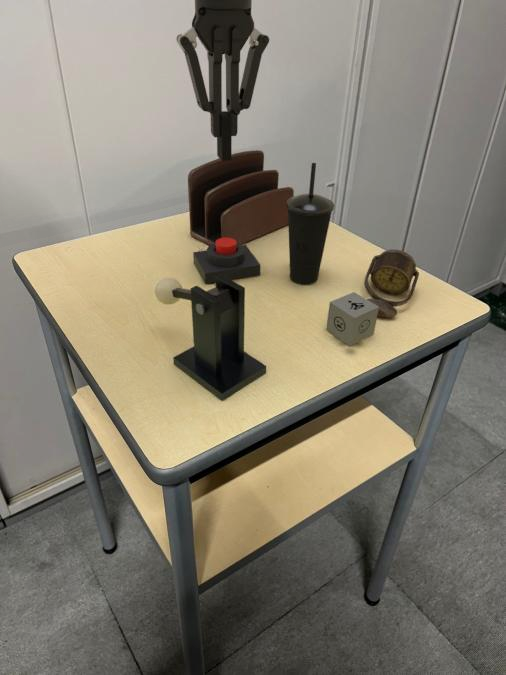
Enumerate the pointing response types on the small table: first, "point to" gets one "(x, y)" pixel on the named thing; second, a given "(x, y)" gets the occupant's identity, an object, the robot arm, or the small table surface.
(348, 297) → the dice cube
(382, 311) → the brown antique clock
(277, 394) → the small table surface
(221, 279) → the bracket
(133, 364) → the small table surface
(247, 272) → the button box
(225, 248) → the red button
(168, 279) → the lever
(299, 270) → the drinking cup
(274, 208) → the letter holder
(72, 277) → the small table surface
